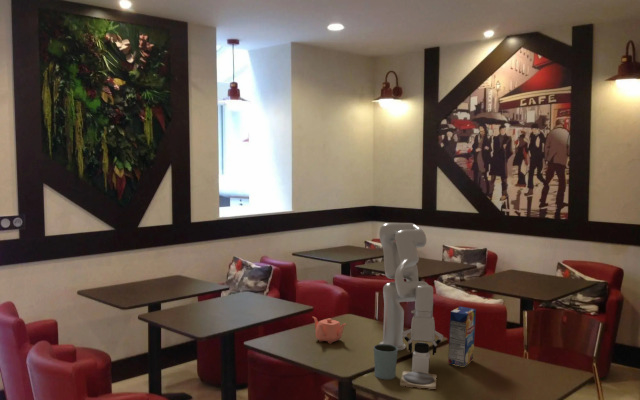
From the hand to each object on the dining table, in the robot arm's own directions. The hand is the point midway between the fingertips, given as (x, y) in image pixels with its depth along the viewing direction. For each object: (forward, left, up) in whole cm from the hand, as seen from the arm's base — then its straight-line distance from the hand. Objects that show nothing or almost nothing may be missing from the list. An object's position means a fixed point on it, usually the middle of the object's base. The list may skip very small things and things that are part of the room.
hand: (422, 353), depth 252 cm
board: (+12, 0, -8) cm, 15 cm away
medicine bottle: (-1, 0, -8) cm, 8 cm away
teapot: (-27, -47, -8) cm, 55 cm away
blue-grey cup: (+10, -15, -8) cm, 20 cm away
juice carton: (-17, +17, -8) cm, 25 cm away
